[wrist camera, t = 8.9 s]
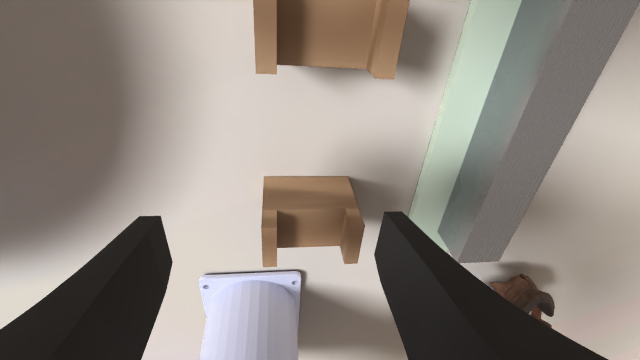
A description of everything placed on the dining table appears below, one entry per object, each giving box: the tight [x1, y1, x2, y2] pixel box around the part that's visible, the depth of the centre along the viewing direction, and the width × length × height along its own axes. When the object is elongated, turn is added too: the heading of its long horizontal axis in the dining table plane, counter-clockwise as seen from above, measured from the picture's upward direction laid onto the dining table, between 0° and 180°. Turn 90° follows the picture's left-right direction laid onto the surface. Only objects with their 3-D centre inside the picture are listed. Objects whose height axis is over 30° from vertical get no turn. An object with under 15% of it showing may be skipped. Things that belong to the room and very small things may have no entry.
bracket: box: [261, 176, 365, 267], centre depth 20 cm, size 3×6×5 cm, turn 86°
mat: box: [408, 0, 522, 252], centre depth 21 cm, size 20×8×1 cm, turn 176°
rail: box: [437, 0, 640, 263], centre depth 19 cm, size 18×3×3 cm
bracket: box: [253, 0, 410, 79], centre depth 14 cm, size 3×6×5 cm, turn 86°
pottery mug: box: [490, 274, 555, 328], centre depth 30 cm, size 12×10×8 cm
